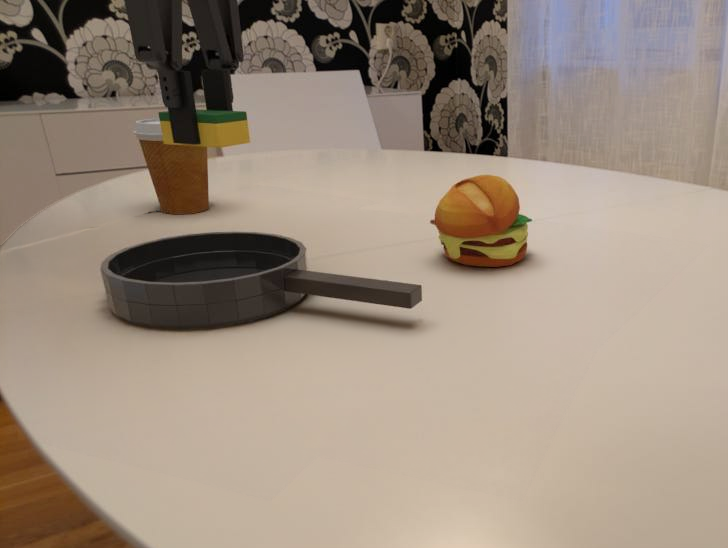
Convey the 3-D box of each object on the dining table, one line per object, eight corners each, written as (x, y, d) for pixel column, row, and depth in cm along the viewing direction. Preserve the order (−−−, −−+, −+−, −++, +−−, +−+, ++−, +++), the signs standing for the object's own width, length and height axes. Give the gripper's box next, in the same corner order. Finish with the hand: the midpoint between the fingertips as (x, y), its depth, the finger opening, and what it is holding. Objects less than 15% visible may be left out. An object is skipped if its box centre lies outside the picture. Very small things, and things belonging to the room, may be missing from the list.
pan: (64, 315, 57) (52, 270, 56) (203, 262, 72) (197, 225, 71) (230, 343, 52) (223, 295, 51) (343, 280, 67) (340, 241, 65)
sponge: (163, 144, 67) (157, 112, 66) (195, 139, 71) (191, 109, 70) (220, 147, 65) (215, 114, 64) (250, 142, 69) (246, 111, 67)
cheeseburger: (548, 251, 77) (544, 167, 71) (504, 298, 70) (496, 209, 64) (472, 238, 81) (463, 158, 75) (424, 280, 74) (409, 196, 68)
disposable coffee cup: (191, 200, 102) (177, 116, 97) (235, 207, 97) (222, 120, 92) (134, 211, 94) (115, 121, 89) (178, 220, 90) (161, 125, 85)
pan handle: (284, 291, 58) (282, 276, 57) (299, 284, 60) (297, 269, 59) (411, 309, 54) (410, 292, 54) (422, 300, 56) (422, 284, 56)
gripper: (113, -175, 49) (170, 153, 59) (263, -122, 64) (289, 133, 74) (39, -166, 52) (105, 148, 62) (200, -117, 67) (233, 130, 77)
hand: (205, 139), depth 68 cm, fingers closed on sponge, 4 cm apart
